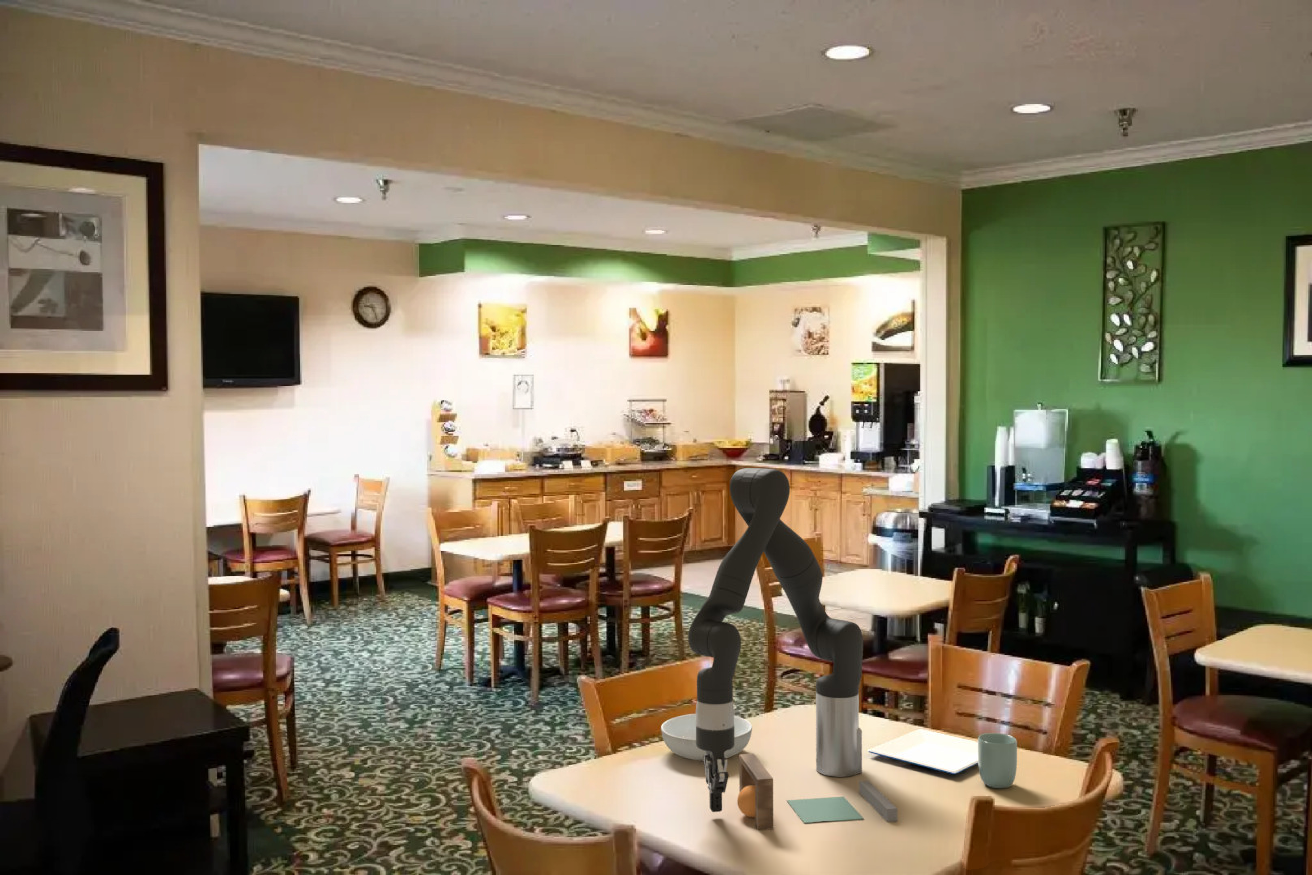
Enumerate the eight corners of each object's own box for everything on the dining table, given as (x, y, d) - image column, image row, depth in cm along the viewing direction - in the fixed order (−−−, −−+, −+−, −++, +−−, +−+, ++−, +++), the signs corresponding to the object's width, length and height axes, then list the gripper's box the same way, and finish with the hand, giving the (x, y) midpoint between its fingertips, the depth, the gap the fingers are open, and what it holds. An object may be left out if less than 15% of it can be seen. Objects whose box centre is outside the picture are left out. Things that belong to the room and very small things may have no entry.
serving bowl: (685, 736, 270) (685, 708, 269) (765, 748, 260) (765, 719, 260) (645, 761, 251) (644, 731, 251) (729, 775, 241) (729, 744, 241)
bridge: (753, 800, 226) (753, 753, 226) (773, 828, 211) (773, 778, 211) (739, 801, 225) (739, 754, 225) (758, 829, 211) (757, 779, 210)
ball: (749, 774, 220) (729, 796, 220) (753, 785, 214) (732, 808, 214) (772, 794, 221) (751, 816, 221) (776, 805, 215) (755, 828, 215)
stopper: (868, 792, 230) (868, 780, 230) (897, 820, 214) (897, 808, 214) (859, 792, 230) (859, 780, 230) (887, 821, 214) (887, 808, 214)
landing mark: (843, 797, 227) (843, 796, 227) (863, 819, 216) (863, 818, 216) (786, 801, 225) (786, 800, 225) (804, 823, 214) (804, 822, 214)
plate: (1005, 756, 253) (1005, 747, 253) (955, 781, 237) (955, 772, 237) (919, 736, 269) (919, 727, 268) (866, 758, 253) (866, 749, 253)
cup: (972, 779, 237) (972, 733, 237) (1007, 778, 238) (1007, 732, 238) (986, 792, 230) (986, 744, 229) (1022, 791, 230) (1022, 743, 230)
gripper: (741, 731, 210) (742, 821, 211) (726, 712, 224) (727, 797, 224) (702, 733, 209) (703, 824, 210) (689, 714, 222) (690, 799, 223)
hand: (715, 810), depth 217 cm, fingers closed
